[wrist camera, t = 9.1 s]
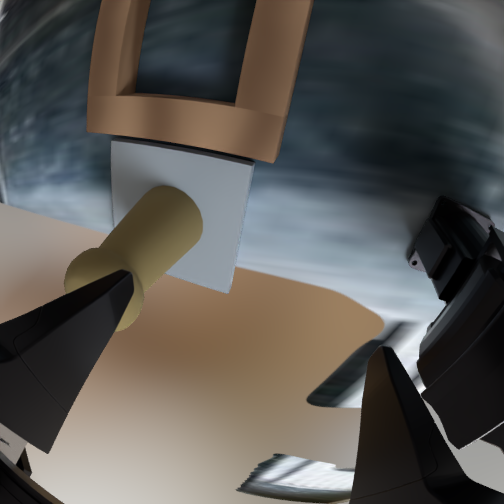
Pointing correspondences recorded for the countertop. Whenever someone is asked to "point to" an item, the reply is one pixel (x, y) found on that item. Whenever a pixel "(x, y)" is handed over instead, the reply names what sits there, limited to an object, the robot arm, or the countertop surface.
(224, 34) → the countertop surface
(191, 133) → the pocket frame
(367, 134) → the countertop surface
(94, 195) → the countertop surface
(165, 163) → the mat
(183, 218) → the cork
